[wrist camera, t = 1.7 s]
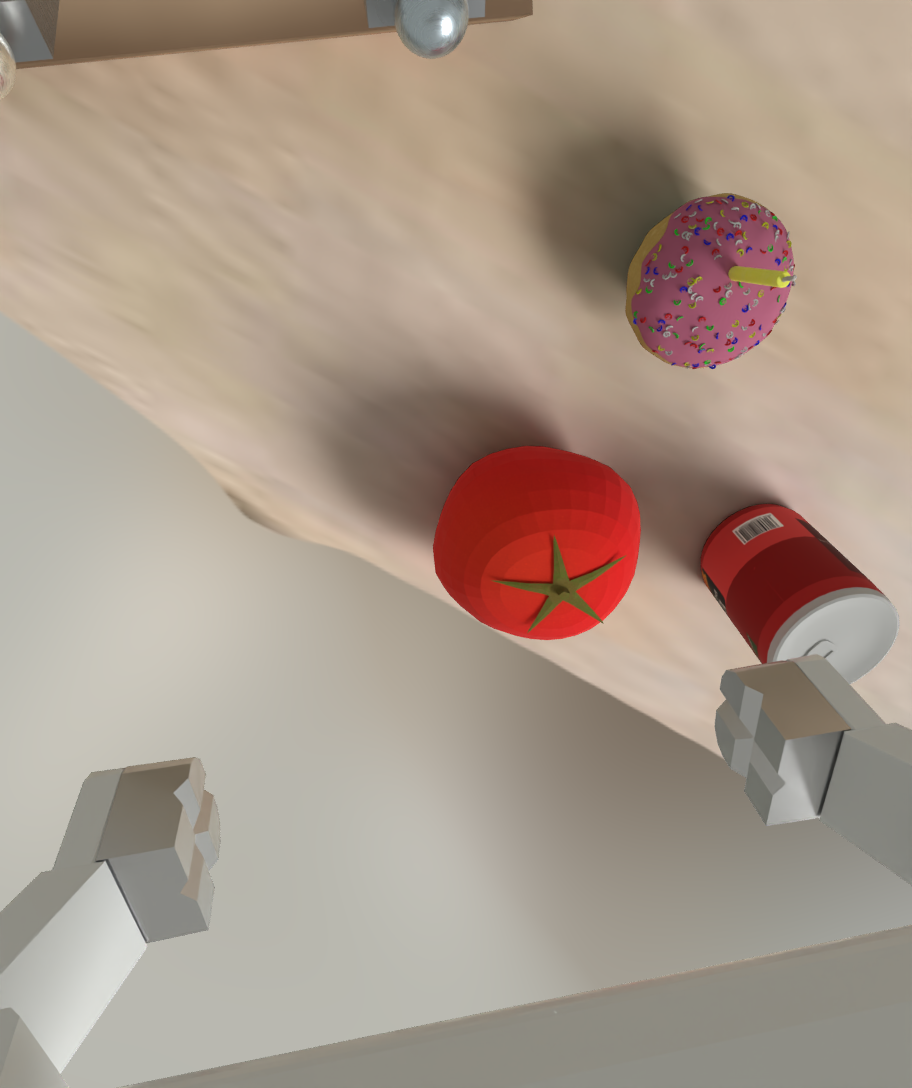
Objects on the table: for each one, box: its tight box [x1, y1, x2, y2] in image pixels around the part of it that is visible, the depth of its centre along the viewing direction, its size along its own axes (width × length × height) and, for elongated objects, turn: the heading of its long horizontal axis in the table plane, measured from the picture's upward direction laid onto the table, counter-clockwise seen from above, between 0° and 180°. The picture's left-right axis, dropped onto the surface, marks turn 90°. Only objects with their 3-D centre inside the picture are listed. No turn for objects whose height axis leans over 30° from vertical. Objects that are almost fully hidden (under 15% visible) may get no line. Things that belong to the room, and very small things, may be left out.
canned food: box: [701, 504, 899, 684], centre depth 48 cm, size 8×8×11 cm
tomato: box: [433, 446, 641, 640], centre depth 44 cm, size 11×12×10 cm
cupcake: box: [626, 193, 797, 369], centre depth 36 cm, size 9×8×12 cm
